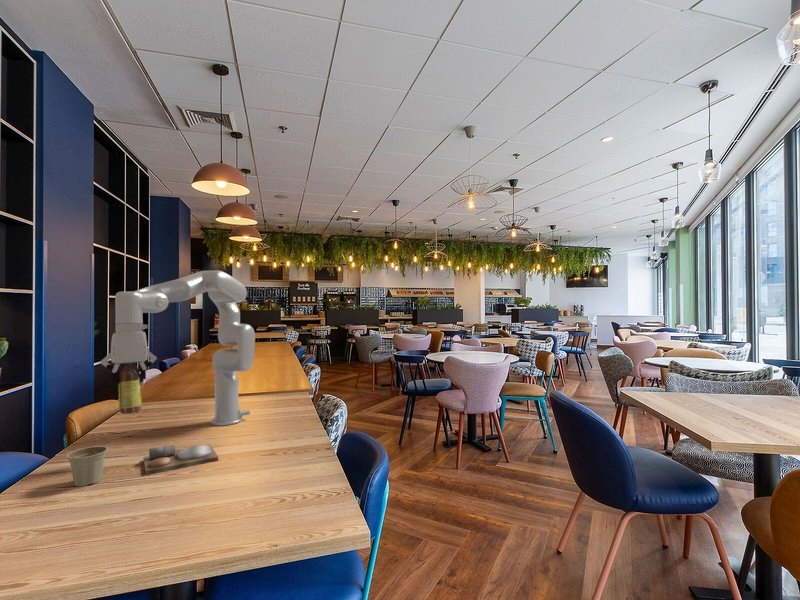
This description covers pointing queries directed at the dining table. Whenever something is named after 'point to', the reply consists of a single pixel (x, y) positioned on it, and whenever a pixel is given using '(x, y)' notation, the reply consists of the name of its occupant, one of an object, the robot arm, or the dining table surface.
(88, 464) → the flower pot
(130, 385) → the sauce bottle
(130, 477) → the dining table surface
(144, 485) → the dining table surface
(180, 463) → the board
